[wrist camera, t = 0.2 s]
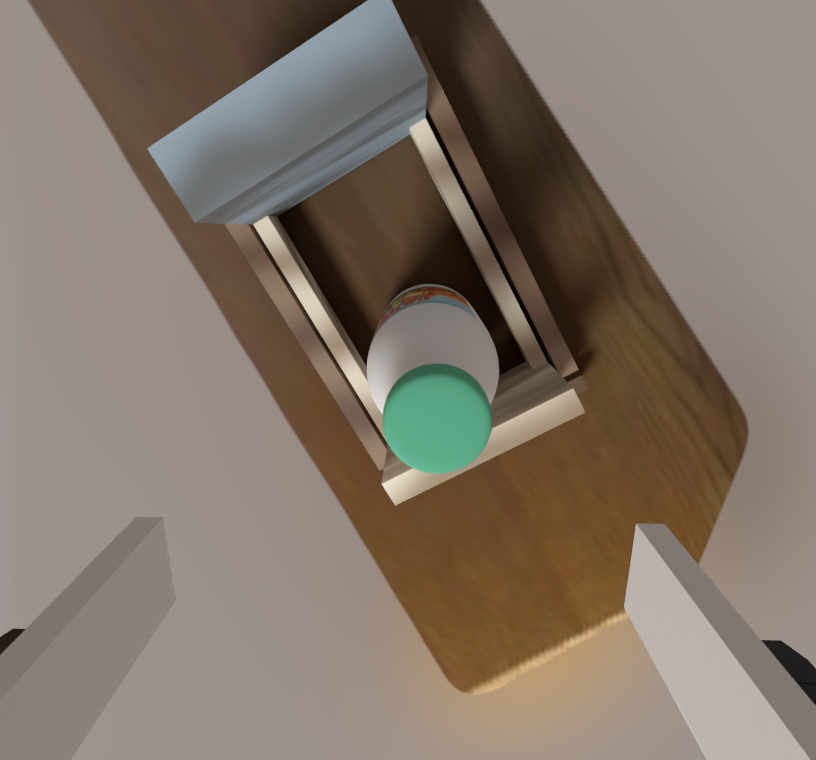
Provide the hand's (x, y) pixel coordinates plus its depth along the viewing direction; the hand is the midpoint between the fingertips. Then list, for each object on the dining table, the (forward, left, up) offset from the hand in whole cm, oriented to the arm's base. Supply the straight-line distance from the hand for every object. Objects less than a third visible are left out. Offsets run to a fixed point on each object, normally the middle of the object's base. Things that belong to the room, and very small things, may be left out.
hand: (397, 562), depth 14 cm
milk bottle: (-1, +1, -27) cm, 27 cm away
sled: (-5, -1, -27) cm, 27 cm away
